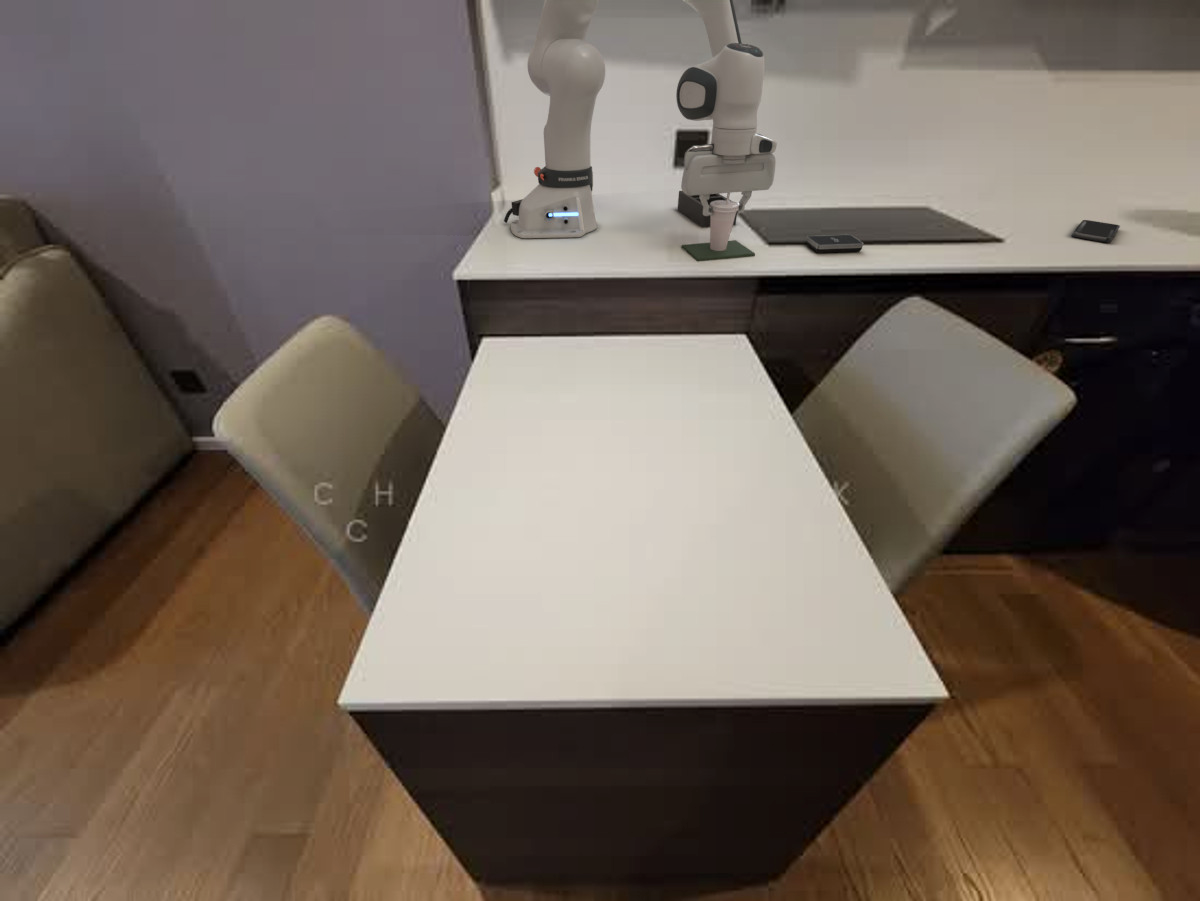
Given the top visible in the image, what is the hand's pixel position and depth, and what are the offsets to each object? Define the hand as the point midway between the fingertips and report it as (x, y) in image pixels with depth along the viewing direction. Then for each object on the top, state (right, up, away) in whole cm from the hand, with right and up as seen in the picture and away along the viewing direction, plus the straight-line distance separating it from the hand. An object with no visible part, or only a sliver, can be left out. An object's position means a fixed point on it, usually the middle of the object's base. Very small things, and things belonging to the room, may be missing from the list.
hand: (723, 213), depth 117 cm
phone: (+97, +2, +15) cm, 98 cm away
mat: (0, -6, +5) cm, 8 cm away
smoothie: (0, -6, +5) cm, 8 cm away
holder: (+1, +12, +28) cm, 30 cm away
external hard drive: (+27, -5, +7) cm, 28 cm away
